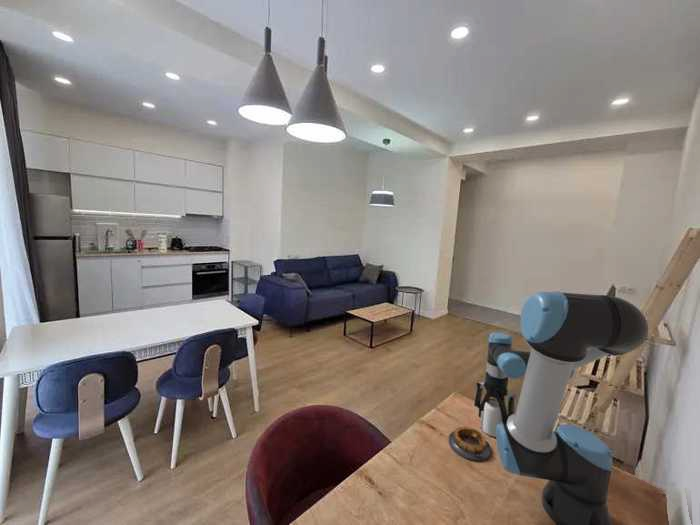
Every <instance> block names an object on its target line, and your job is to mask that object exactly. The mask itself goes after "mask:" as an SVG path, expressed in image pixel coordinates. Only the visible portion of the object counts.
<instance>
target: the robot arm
mask: <svg viewBox="0 0 700 525" xmlns="http://www.w3.org/2000/svg"><path fill="white" fill-rule="evenodd" d="M519 317H520V318H519V319H520V322H519V325H520V332H521V334H522V337H523V338H524V340H525V341H526V344H527V345H528V347H529V348H530V351H526V350H525V351H524V350H516V349H515V350H514V348H513V347H512V345H513V339H512V336H510V335H509V334H507V333H503V332H499V331H498V332H495V331H494V332H491V333H490V334H489V338H488V341H487V343H488V344H487V345H488V346H487V347H488V348H487V358H486V360H487V361H486V367H485V368H486V369H485V371H486V372H485V378H484V379H485V381H484V382H482V381H478V382H477V383H476V394H475V399H474V404H473V405H474V407H476V408H478V417H479V418H480V420H479V422H480V423H479V427H480V428H482V429H483V416H484V406H485V403H486V401H488V400H489V398H493V399H496V400H497V401H498V403H499V407H500V411H501V415H502V420H501V421H500V424H498V425H497V426H496V437H495V438H496V446H497V450H498V456H499V459H500V462H501V465H502V466H503V468H504V470H506V471H507V472H508V473H510V474H514V475H518V476H520V477H530V478H533V479H534V478H535V479H540V480H547V482H546V484H545V485H544V487H543V489H542V494H541V504H542V506H543V508H544V511H545V512H546V514H547V515H548V516H549V517H550V519H551V520H552V521H553V522H554V523H555V524H556V523H557V524H558V525H613V523H612V520H611V515H610V511H609V507H608V504H607V498H608V493H609V487H610V481H611V480H610V479H611V472H612V470H613V468H614V467H613V453H612V451H611V450H610V448H609V446H608V445H607V444H606V443H605V442H604V441H603V440H601V438H599V437H598V436H596V435H595V434H593V433H591V432H589V431H588V430H585V429H583V428H581V427H579V426H576V425H573V424H567V423H566V424H561V425H559V426H558V427H557V428H556V431H554V428H555V425H556V423H557V419H558V415H559V412H560V409H561V406H562V404H563V403H562V402H563V400H564V397H565V394H566V391H567V387H568V384H569V380H570V379H572V378H573V375H574V374H575V370H577V369H579V368H582V367H584V366H586V365H588V364H591V363H594V362H595V361H598V360H600V359H602V358H605V357H608V356H622V355H625V354H628V353H631V352H633V351H635V350H637V349H638V348H640V347H641V346H642V345H643V344H644V343H645V342H646V341H647V338H648V335H649V324H648V323H649V322H648V321H647V319H646V317H645V315H644V313H643V312H642V311H641V310H640V309H639V308H638V307H637V306H635V305H634V304H632V303H631V302H630V301H628V300H625V299H623V298H620V297H619V296H618V297H617V296H613V295H605V294H588V293H587V294H586V293H572V292H561V291H538V292H535V293H532V294H531V295H529V297H527V299H526V300H525V302H524V304H523V305H522V309H521V312H520V316H519ZM523 377H524V378H523ZM509 378H511V379H515V380H516V379H519V378H523V381H522V386H521V389H520V390H521V391H520V394H519V397H518V398H519V399H518V402H517V406H516V410H515V401H516V399H517V396H516V395H515V394H513V395H512V394H511V393H510V392H509V391H508V384H509ZM484 389H485V391H486V392H485V395H484V397H483V399H482V395H483V391H484ZM505 397H507V401H508V402H507V405H506V402H505V401H506V399H505ZM481 400H482V401H481ZM557 524H556V525H557Z"/></svg>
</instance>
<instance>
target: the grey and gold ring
mask: <svg viewBox="0 0 700 525" xmlns="http://www.w3.org/2000/svg"><path fill="white" fill-rule="evenodd" d="M448 445H449V447H450V448H451V450H452V451H453V452H454V453H456V454H457V455H459V456H460V457H461V458H463V459H466V460H469V461H472V462H484V461H487V460H488V459H489V458H490V456H491V455H492V450H491V449H492V448H491V445H490V443H489V442H488V441H487V440H486V437H485V436H484V435H483V433H482V432H480V431H478V430H476V429H475V428H473V427H468V426H460V427H459V426H458V427H457V428H456V429H454V431H452V432H450V434H449V435H448Z"/></svg>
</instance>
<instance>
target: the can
mask: <svg viewBox="0 0 700 525" xmlns="http://www.w3.org/2000/svg"><path fill="white" fill-rule="evenodd" d="M501 420H502V415H501V411H500V407H499V403H498V401H497V399H495V398H493V397H490V398H489V400H488V401H486V403H485V406H484V416H483V427H482V430H483V432H484V433H485V434H486V435H487V436H490V437H493V438H496V426H497V425H498V424H500V421H501Z"/></svg>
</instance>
